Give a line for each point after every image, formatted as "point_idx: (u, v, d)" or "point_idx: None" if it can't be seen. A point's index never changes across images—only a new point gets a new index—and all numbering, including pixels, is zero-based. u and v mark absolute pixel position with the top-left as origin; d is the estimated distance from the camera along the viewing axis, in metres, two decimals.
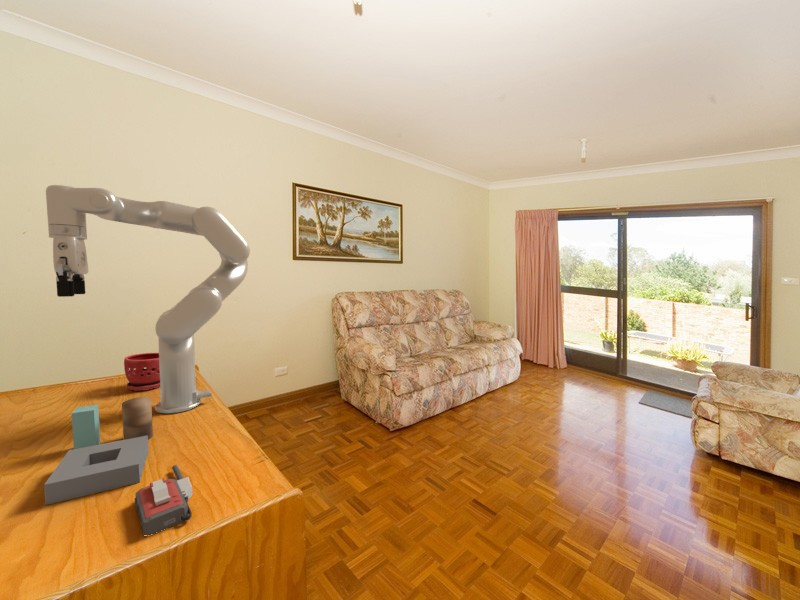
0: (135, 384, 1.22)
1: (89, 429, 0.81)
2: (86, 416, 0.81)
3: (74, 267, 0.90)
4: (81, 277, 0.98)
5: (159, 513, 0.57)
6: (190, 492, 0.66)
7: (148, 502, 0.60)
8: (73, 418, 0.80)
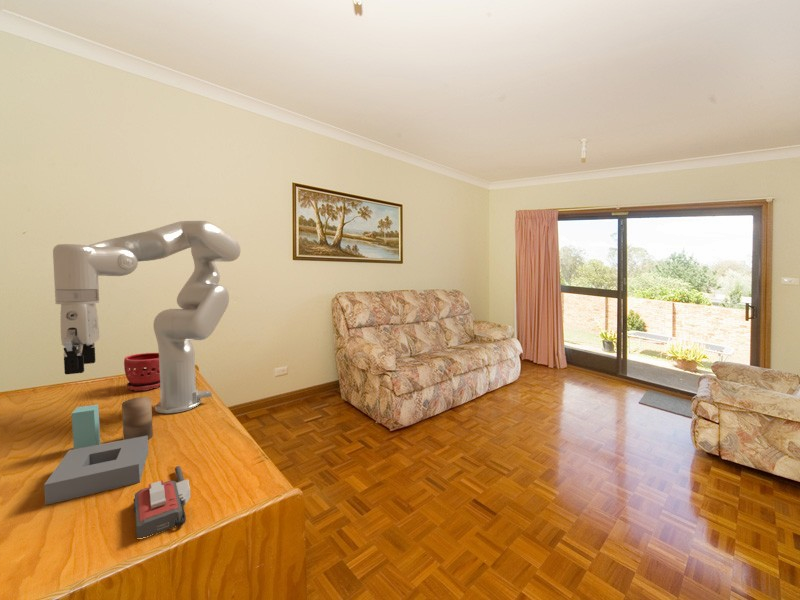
0: (135, 384, 1.22)
1: (89, 429, 0.81)
2: (86, 416, 0.81)
3: (84, 339, 0.77)
4: (91, 344, 0.85)
5: (153, 517, 0.57)
6: (188, 496, 0.65)
7: (144, 504, 0.60)
8: (73, 418, 0.80)
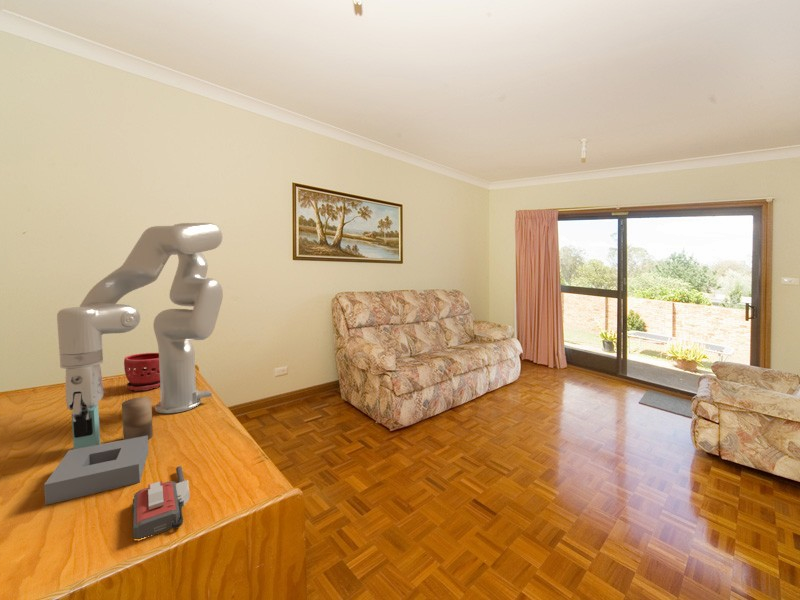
0: (135, 384, 1.22)
1: None
2: None
3: (89, 401, 0.79)
4: None
5: (150, 518, 0.56)
6: (187, 497, 0.64)
7: (142, 505, 0.59)
8: None
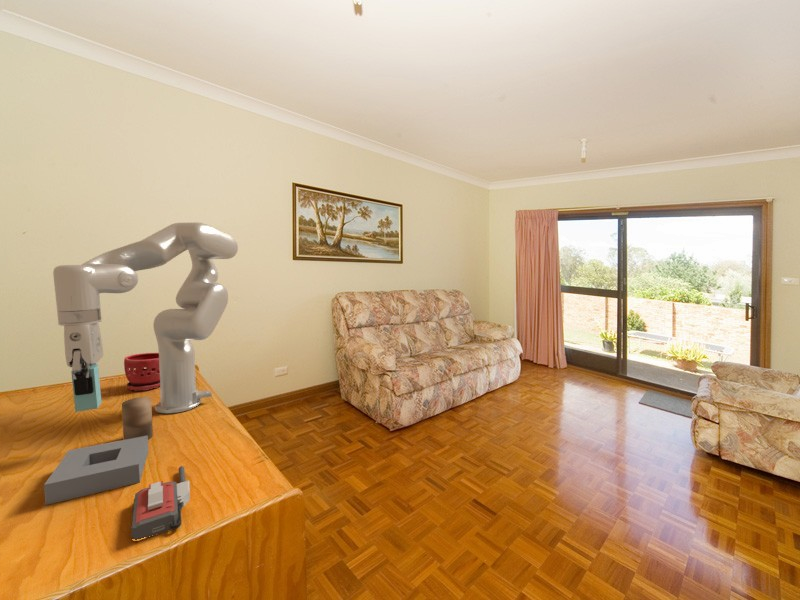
0: (135, 384, 1.22)
1: None
2: None
3: (89, 359, 0.78)
4: None
5: (148, 519, 0.56)
6: (187, 497, 0.64)
7: (142, 505, 0.59)
8: None
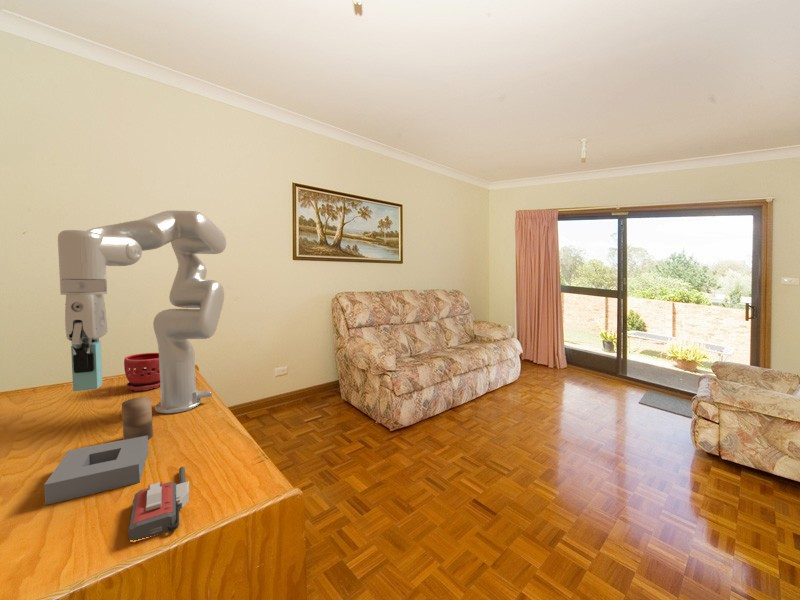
0: (135, 384, 1.22)
1: None
2: None
3: (90, 332, 0.72)
4: None
5: (146, 520, 0.56)
6: (186, 499, 0.64)
7: (141, 506, 0.59)
8: None
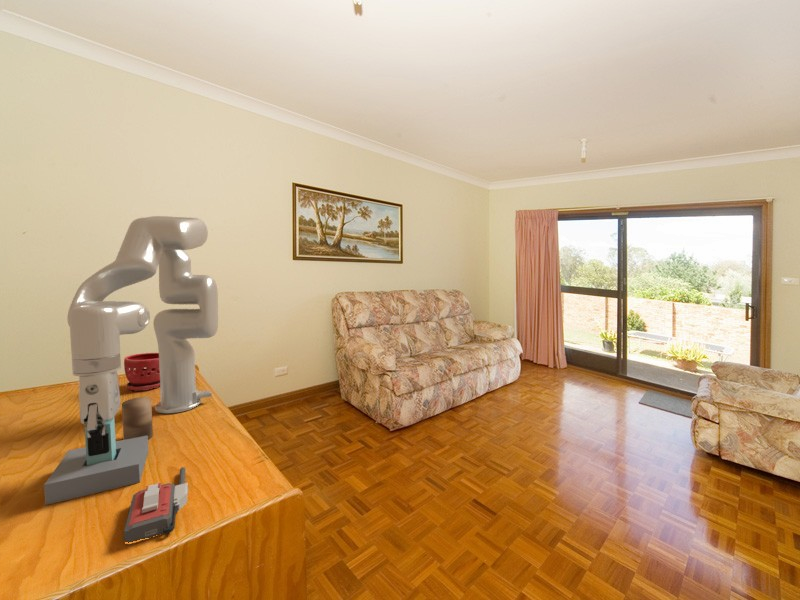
0: (135, 384, 1.22)
1: None
2: None
3: (106, 414, 0.68)
4: None
5: (141, 522, 0.55)
6: (183, 500, 0.63)
7: (138, 507, 0.59)
8: (86, 433, 0.69)
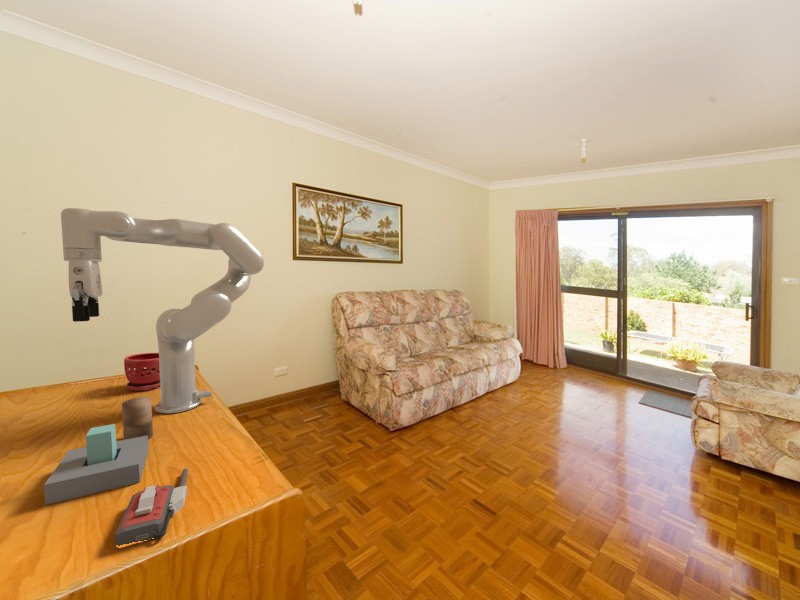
0: (135, 384, 1.22)
1: (106, 453, 0.71)
2: (102, 439, 0.70)
3: (89, 291, 0.89)
4: (95, 299, 0.96)
5: (133, 526, 0.55)
6: (180, 504, 0.62)
7: (133, 509, 0.58)
8: (88, 441, 0.69)
